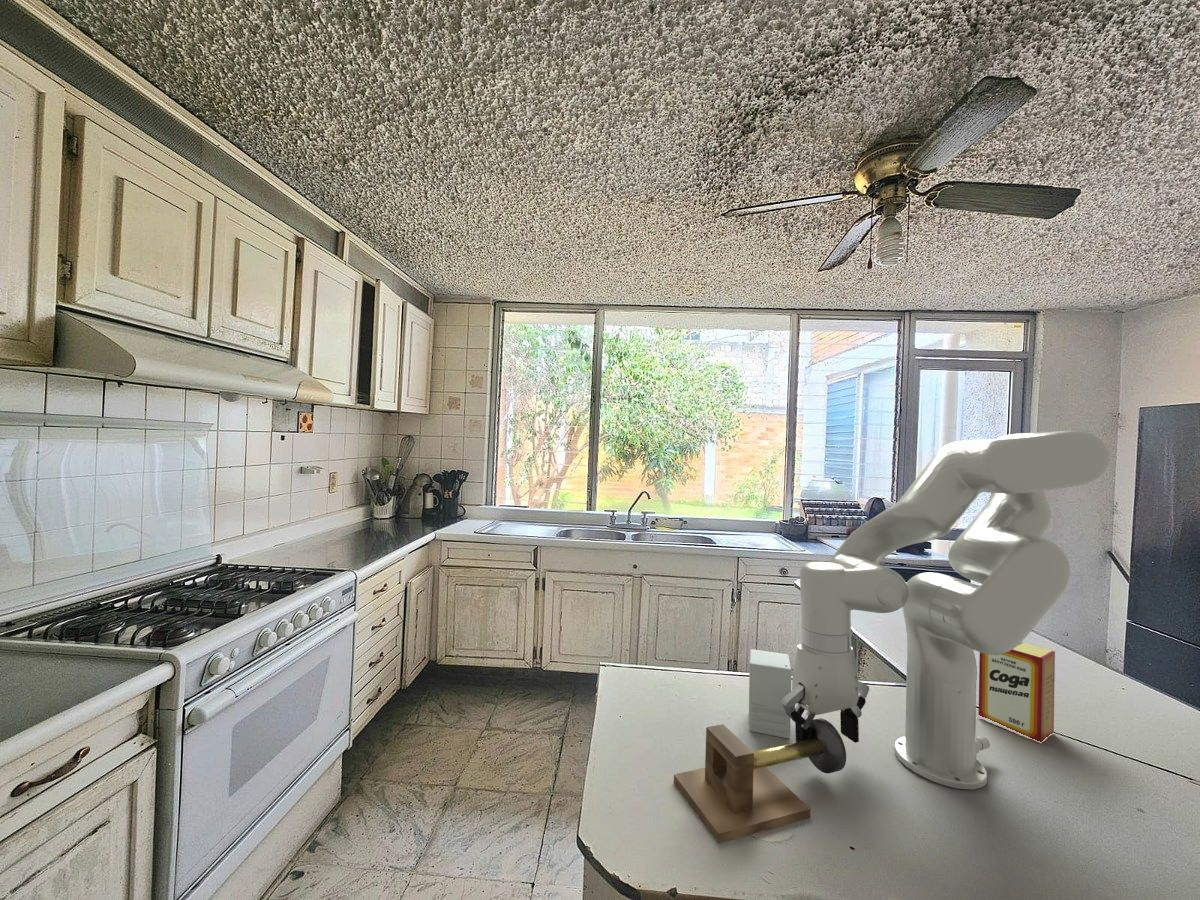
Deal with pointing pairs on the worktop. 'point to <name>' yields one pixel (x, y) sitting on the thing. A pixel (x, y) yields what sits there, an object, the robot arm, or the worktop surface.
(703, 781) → the eye post
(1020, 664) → the baking soda box
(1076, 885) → the worktop surface
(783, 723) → the supplement box
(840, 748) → the brass peg with disc
